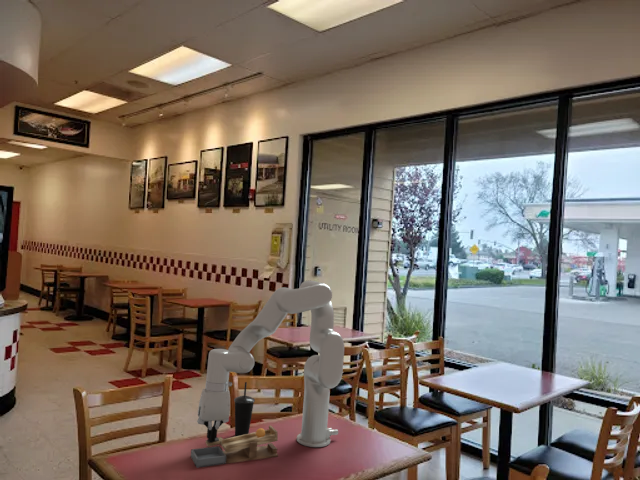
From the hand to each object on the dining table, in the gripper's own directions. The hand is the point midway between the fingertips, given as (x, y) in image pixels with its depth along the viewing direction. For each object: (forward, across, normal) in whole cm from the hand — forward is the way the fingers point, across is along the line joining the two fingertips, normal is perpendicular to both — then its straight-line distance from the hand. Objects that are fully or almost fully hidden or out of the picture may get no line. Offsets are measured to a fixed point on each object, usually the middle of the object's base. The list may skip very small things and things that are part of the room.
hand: (211, 440), depth 167 cm
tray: (+4, +2, +6) cm, 8 cm away
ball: (-3, -15, +6) cm, 17 cm away
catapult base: (+4, -12, +6) cm, 14 cm away
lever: (0, -10, +4) cm, 10 cm away
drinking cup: (+4, -15, -11) cm, 19 cm away
